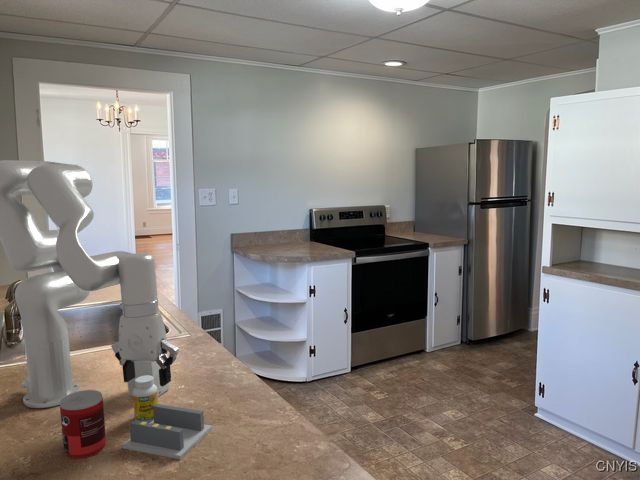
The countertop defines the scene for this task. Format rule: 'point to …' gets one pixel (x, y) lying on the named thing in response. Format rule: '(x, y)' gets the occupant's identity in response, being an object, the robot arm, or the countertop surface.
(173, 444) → the socket block
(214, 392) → the countertop surface
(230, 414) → the countertop surface
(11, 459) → the countertop surface
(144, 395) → the supplement bottle
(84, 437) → the canned food
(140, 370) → the skincare box
